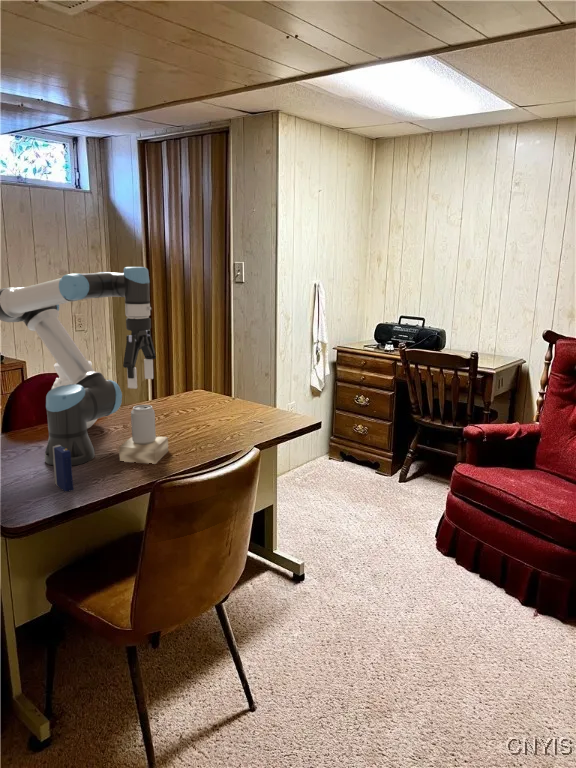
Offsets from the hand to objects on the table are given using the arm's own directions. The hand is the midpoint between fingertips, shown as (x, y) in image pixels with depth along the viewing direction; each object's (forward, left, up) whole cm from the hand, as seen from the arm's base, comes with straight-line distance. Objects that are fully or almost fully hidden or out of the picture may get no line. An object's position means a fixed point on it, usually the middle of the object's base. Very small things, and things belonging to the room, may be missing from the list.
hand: (141, 383), depth 183 cm
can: (0, 0, -20) cm, 20 cm away
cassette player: (-13, -28, -25) cm, 40 cm away
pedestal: (0, 0, -25) cm, 25 cm away
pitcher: (-37, +26, -25) cm, 51 cm away
